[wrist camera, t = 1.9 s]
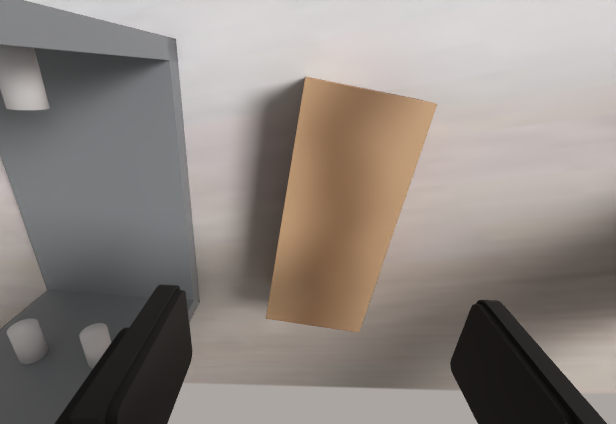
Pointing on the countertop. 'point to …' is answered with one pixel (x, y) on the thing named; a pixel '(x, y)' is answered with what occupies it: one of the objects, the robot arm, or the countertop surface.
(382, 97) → the shelf board
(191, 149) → the countertop surface
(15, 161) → the shelf stand
